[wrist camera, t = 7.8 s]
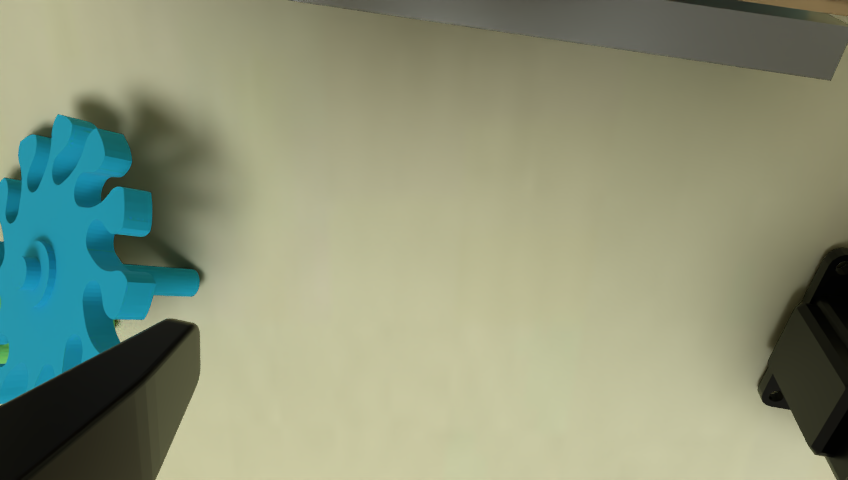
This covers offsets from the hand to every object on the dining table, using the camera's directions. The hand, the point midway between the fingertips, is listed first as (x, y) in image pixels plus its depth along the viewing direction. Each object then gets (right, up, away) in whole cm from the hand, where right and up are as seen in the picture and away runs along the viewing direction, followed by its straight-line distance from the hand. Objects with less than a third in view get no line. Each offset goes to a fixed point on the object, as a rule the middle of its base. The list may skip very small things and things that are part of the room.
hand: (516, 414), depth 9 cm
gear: (-13, +3, +15) cm, 20 cm away
